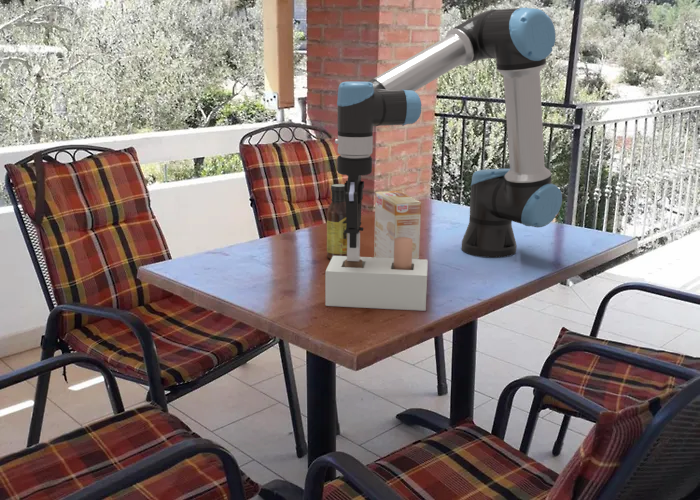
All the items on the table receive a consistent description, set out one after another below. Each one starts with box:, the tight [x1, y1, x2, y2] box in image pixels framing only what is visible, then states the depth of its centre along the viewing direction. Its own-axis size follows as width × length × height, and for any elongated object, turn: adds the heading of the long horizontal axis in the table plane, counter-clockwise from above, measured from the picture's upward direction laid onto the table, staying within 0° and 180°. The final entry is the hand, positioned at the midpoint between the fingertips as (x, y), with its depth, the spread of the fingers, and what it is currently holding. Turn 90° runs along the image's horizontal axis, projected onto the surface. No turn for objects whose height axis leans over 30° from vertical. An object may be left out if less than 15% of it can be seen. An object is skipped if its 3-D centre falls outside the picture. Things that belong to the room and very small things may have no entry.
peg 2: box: [394, 237, 413, 270], centre depth 158 cm, size 4×4×8 cm
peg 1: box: [345, 260, 363, 268], centre depth 160 cm, size 4×4×8 cm
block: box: [324, 256, 429, 312], centre depth 160 cm, size 22×12×8 cm, turn 83°
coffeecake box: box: [373, 190, 422, 259], centre depth 178 cm, size 15×7×20 cm, turn 17°
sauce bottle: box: [326, 183, 347, 260], centre depth 189 cm, size 7×6×20 cm
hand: (353, 260), depth 159 cm, fingers closed
